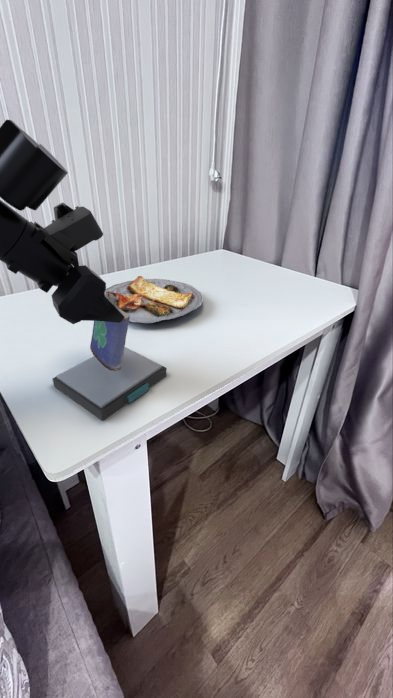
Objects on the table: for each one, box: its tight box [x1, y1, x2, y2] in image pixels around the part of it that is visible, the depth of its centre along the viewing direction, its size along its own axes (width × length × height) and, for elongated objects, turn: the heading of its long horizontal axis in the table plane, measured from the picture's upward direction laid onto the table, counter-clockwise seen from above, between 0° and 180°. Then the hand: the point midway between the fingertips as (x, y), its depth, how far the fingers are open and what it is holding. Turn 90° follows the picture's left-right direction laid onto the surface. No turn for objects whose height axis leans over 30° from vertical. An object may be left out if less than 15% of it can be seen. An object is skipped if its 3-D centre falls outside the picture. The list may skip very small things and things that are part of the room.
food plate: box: [105, 275, 204, 324], centre depth 81 cm, size 25×23×4 cm
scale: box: [52, 346, 167, 422], centre depth 55 cm, size 14×12×2 cm
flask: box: [89, 293, 130, 371], centre depth 51 cm, size 9×3×11 cm, turn 34°
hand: (111, 306), depth 50 cm, fingers closed on flask, 9 cm apart
